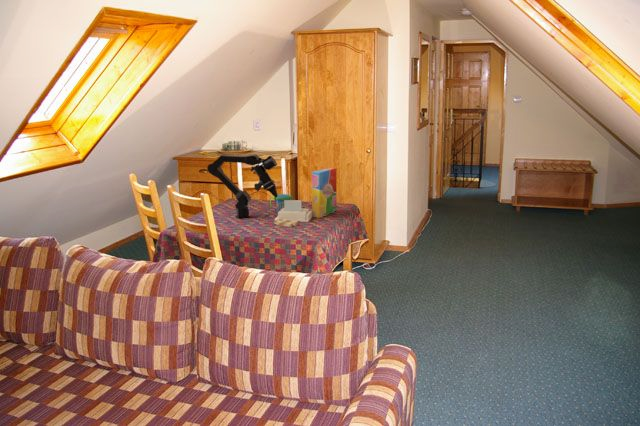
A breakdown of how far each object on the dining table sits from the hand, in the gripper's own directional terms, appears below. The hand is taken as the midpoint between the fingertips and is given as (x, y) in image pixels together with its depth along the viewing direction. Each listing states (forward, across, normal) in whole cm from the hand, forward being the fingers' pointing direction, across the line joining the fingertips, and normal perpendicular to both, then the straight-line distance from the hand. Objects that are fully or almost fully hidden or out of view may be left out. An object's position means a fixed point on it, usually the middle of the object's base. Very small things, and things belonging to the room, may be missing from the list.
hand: (276, 196), depth 336 cm
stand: (+16, +14, -3) cm, 21 cm away
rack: (+16, 0, +2) cm, 16 cm away
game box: (+25, -9, +19) cm, 32 cm away
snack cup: (+11, -19, -3) cm, 22 cm away
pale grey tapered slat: (+11, +1, +5) cm, 12 cm away
